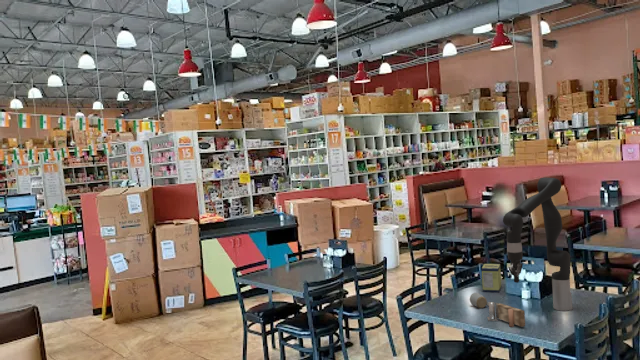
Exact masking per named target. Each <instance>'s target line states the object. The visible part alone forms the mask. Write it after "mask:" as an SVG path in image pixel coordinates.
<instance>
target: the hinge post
mask: <svg viewBox="0 0 640 360" xmlns="http://www.w3.org/2000/svg"><path fill="white" fill-rule="evenodd" d="M488 303H489V306H488V315H489V316H487V317H486V318H487V321H488V322H498V321H499V318H496V305H495V302H494V301H488Z"/></svg>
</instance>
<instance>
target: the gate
mask: <svg viewBox="0 0 640 360" xmlns="http://www.w3.org/2000/svg"><path fill="white" fill-rule="evenodd" d="M494 304H495V317H496V318H497V319H498V320H501V321H504V322H507V323H509V315H508V309H513V317H514V326H515V325H516V326H517V327H518V326H519V327H522V328H523V327H526V315H525V310H524V309H521V308H518V307H517V308H516V307H514V306H510V305H507V304H505V303H499V302H494Z"/></svg>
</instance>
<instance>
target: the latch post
mask: <svg viewBox="0 0 640 360" xmlns="http://www.w3.org/2000/svg"><path fill="white" fill-rule="evenodd" d="M508 315H509V322H508V327H510V328H513V327H515V324H514V317H513V309H508Z"/></svg>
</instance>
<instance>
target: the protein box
mask: <svg viewBox="0 0 640 360" xmlns="http://www.w3.org/2000/svg"><path fill="white" fill-rule="evenodd" d="M482 265H483V266H482V267H481V282H482V283H481V284H482V292H483V293H500V291H501V289H502V287H503V286H502V272H501V264H500V263H483V264H482Z"/></svg>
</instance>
